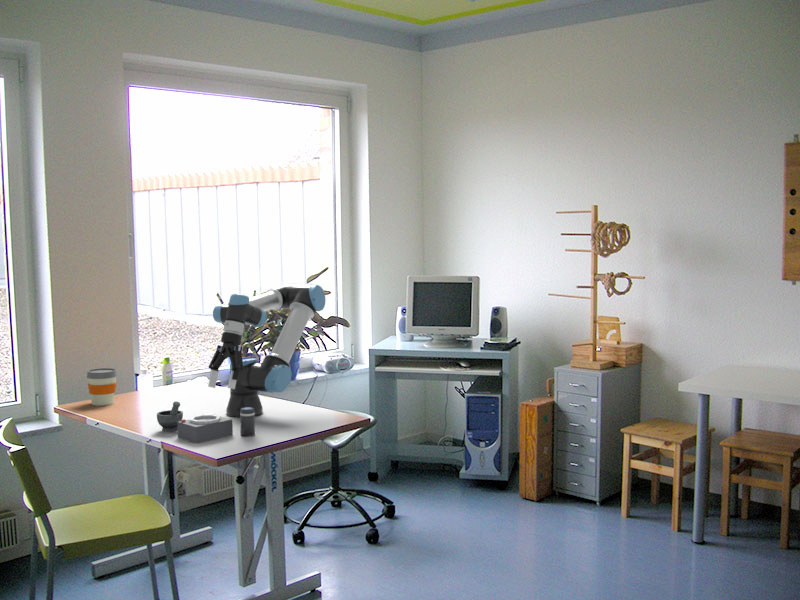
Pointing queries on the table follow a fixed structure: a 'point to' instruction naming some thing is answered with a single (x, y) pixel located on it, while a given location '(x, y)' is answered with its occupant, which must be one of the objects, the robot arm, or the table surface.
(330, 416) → the table surface
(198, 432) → the dark grey box
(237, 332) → the robot arm
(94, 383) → the reusable coffee cup
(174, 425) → the mortar and pestle
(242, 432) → the lens
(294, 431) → the table surface
